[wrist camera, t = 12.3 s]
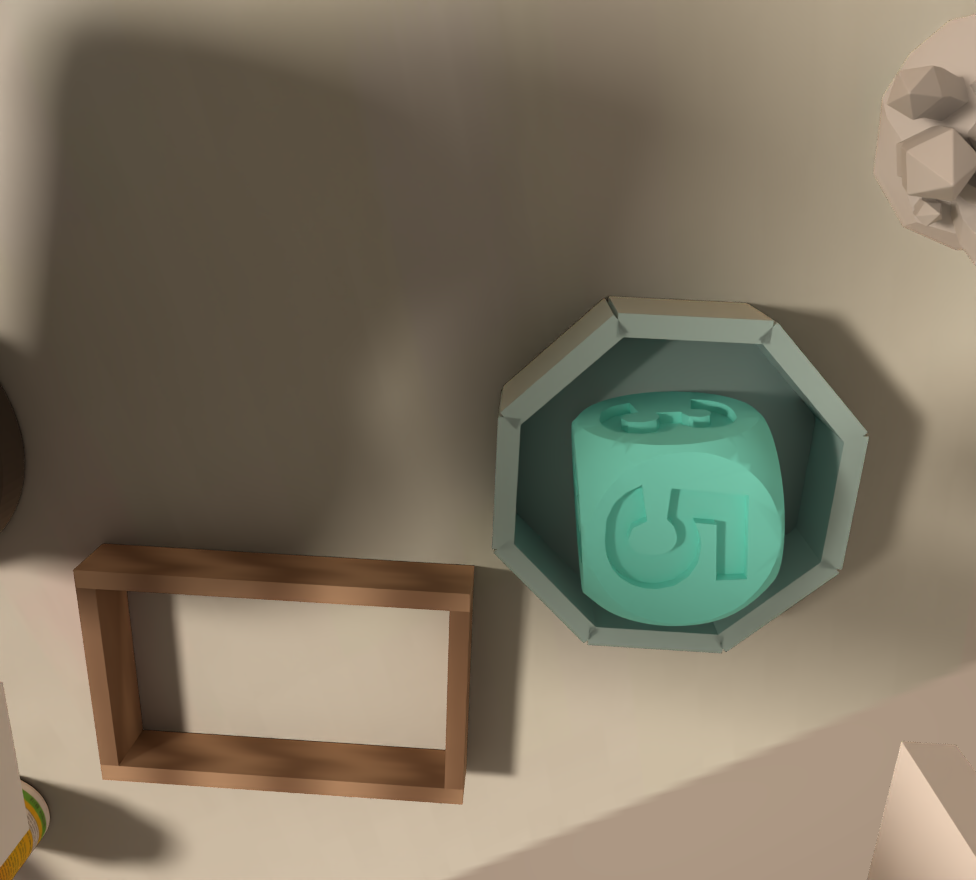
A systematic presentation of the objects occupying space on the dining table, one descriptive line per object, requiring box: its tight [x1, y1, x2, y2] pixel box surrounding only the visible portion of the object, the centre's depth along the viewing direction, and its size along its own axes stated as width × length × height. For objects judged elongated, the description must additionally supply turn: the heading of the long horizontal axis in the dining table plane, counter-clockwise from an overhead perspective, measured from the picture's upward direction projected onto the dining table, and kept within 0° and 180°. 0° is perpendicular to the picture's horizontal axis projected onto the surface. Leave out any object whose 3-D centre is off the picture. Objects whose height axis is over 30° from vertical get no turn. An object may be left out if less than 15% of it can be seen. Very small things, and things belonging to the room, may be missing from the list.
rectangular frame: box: [73, 544, 474, 804], centre depth 44 cm, size 20×13×3 cm, turn 88°
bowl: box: [492, 296, 869, 653], centre depth 38 cm, size 16×16×4 cm
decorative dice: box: [571, 391, 785, 626], centre depth 36 cm, size 8×8×8 cm
